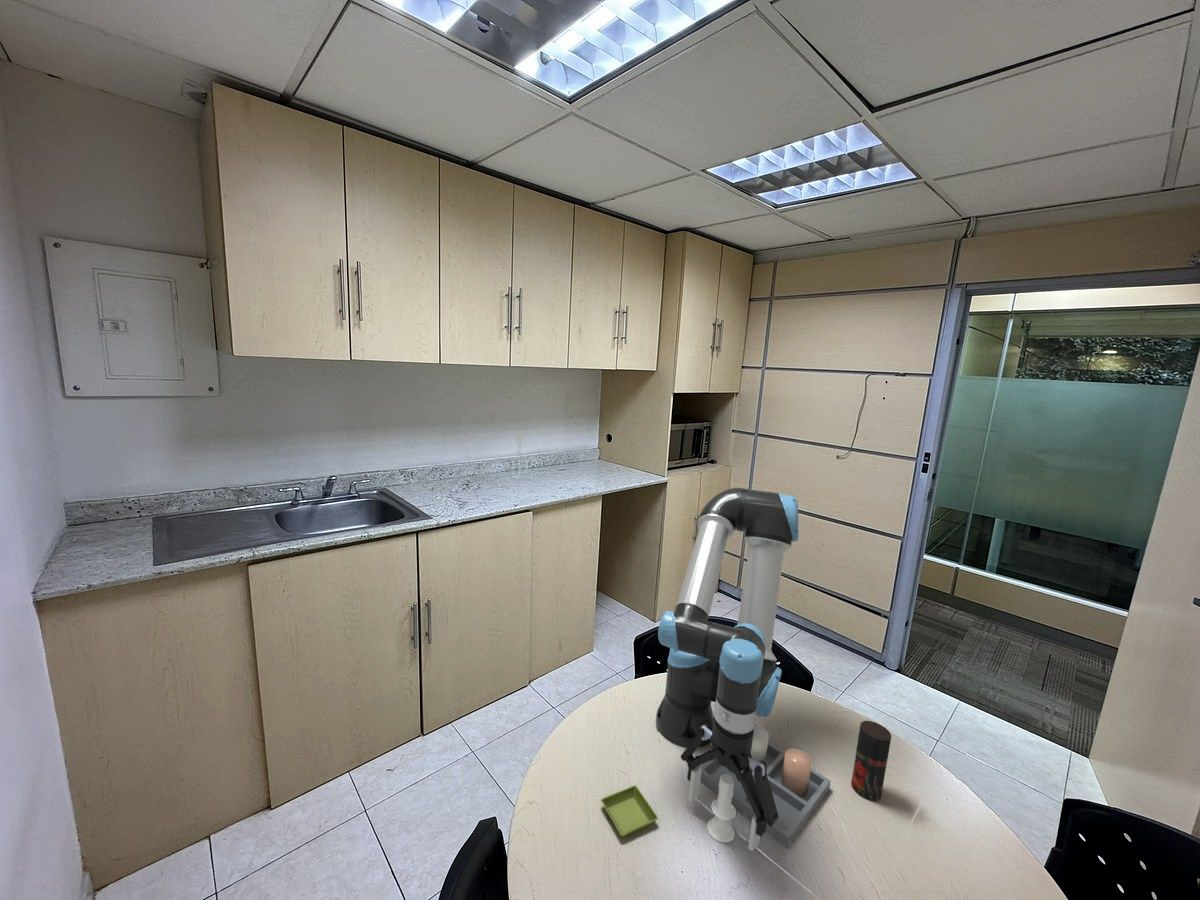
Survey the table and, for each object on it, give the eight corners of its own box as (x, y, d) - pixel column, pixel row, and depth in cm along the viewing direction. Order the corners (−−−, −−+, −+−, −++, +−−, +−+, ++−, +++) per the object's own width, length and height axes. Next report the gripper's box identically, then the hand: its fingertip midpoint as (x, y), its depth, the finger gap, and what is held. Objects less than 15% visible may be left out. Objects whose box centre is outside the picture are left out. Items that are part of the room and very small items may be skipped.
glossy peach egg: (776, 784, 105) (780, 756, 104) (787, 771, 109) (791, 744, 108) (801, 801, 101) (805, 771, 100) (811, 787, 105) (816, 759, 104)
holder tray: (696, 779, 105) (697, 769, 105) (743, 735, 120) (745, 727, 119) (786, 849, 90) (788, 838, 90) (829, 790, 105) (830, 780, 104)
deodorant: (885, 805, 102) (895, 742, 100) (855, 799, 103) (865, 737, 101) (875, 783, 107) (885, 723, 106) (847, 777, 109) (856, 718, 107)
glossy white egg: (736, 757, 112) (740, 730, 111) (748, 746, 116) (751, 720, 115) (758, 771, 108) (761, 744, 107) (769, 759, 112) (773, 733, 111)
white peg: (716, 813, 97) (722, 761, 95) (739, 831, 93) (746, 777, 92) (701, 829, 93) (708, 774, 92) (725, 848, 89) (732, 792, 88)
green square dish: (620, 845, 89) (621, 835, 89) (599, 807, 97) (599, 798, 96) (658, 827, 93) (659, 818, 93) (634, 793, 101) (635, 784, 100)
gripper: (670, 696, 96) (661, 788, 99) (788, 773, 79) (773, 883, 81) (691, 682, 102) (682, 770, 104) (806, 751, 84) (792, 855, 86)
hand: (722, 820), depth 93 cm, fingers open, 13 cm apart
